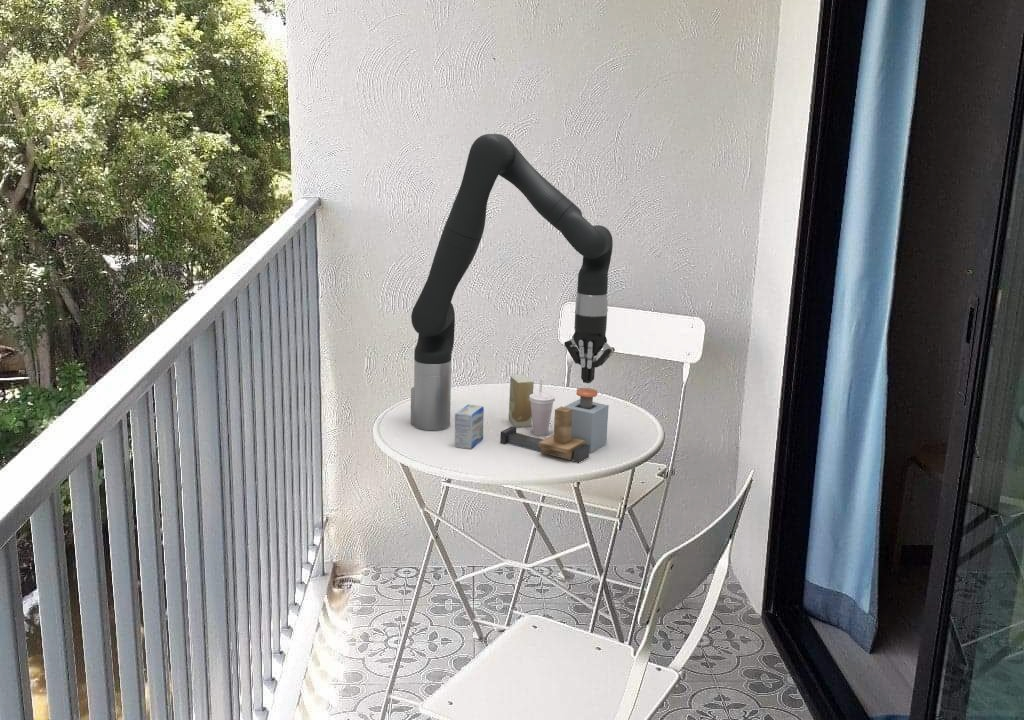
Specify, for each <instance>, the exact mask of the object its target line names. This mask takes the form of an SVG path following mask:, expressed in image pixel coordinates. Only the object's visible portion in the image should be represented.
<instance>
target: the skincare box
mask: <svg viewBox="0 0 1024 720" xmlns="http://www.w3.org/2000/svg"><path fill="white" fill-rule="evenodd" d="M509 380H510V383H509V398H508V399H509V403H508V406H509V407H508V418H507V419H508V421H509V422H510V423H511V424H512V425H513V427H516V428H525V427H526V428H527V427H531V426H532V414H531V401H530V400H529V396H530V395H531V394H533V393H534V385H535V384H534V380H532V379H531V378H530V377H529V376H528V375H526V374H519V375H517V374H515V375H510V379H509Z"/></svg>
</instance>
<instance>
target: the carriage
mask: <svg viewBox="0 0 1024 720" xmlns="http://www.w3.org/2000/svg"><path fill="white" fill-rule="evenodd" d="M553 421H554V422H553V423H554V424H553V434H552V435H550V436H548V437H546V438H545V439H543V441H541V442H539V447H541V452H540V453H542V454H545V455H550V456H553V457H558V458H562V459H565V460H568V461H572V460H571V459H572V455H573V451H574V450H575V449H576V448H578V447H580V446H582V445H583V444H585V440H581V439H577V438H573V437H571V426H572V409H571V408H566V407H564V406H560V407H556V408H555V409H554V420H553Z"/></svg>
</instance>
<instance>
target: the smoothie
mask: <svg viewBox="0 0 1024 720" xmlns="http://www.w3.org/2000/svg"><path fill="white" fill-rule="evenodd" d="M542 389H543V379H542V378H540V379H539V392H533V394H531V395H530V396H529V400H530V401H531V414H532V423H531V426H532V433H533V435H535V436H542V437H543V436H546V435H548V434H549V429H550V423H551V418H552V417H551V416H552V411H553V405H554V403H555V399H556V398H555V396H554V395H553V394H551V393H548V392H542V391H543V390H542Z"/></svg>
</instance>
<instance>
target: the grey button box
mask: <svg viewBox="0 0 1024 720" xmlns="http://www.w3.org/2000/svg"><path fill="white" fill-rule="evenodd" d="M609 406H610V405H608V404H605V403H600V402H594V401H593V404H592V409H590V410H588V409H584V408H580V398H579V399H577V400H574V401H573V402H571V403H568V404H566V405H565V406H563V407H566V408H571V409H572V426H571V437H573V438H577V439H581V440H585V444H587V445H590V447H589V454H592V453H594V452H595V451H597V450H599V449H600V447H601V448H603V446H605V444H606V445H607V436H608V423H609V422H608V419H609ZM598 448H599V449H598Z"/></svg>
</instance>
